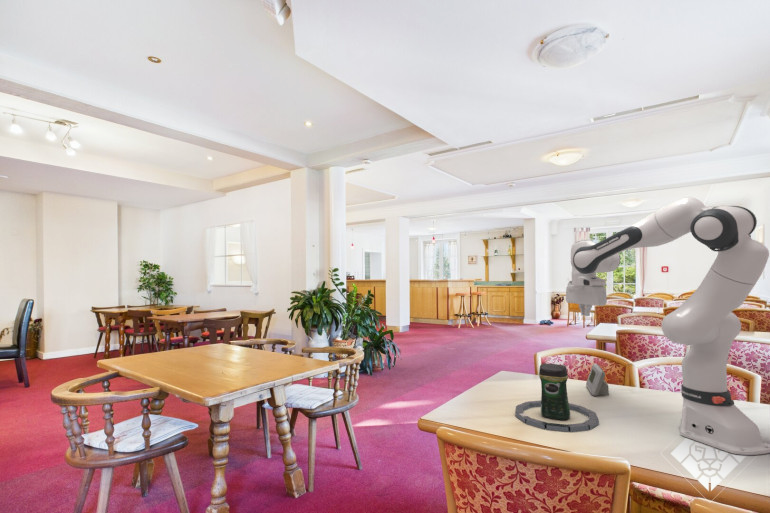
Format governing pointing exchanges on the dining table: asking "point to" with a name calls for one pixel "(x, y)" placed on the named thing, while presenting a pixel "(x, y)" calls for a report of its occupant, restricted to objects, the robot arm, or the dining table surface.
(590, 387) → the digital clock
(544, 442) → the dining table surface
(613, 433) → the dining table surface
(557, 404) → the coffee jar
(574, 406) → the grey segmented ring
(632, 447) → the dining table surface
